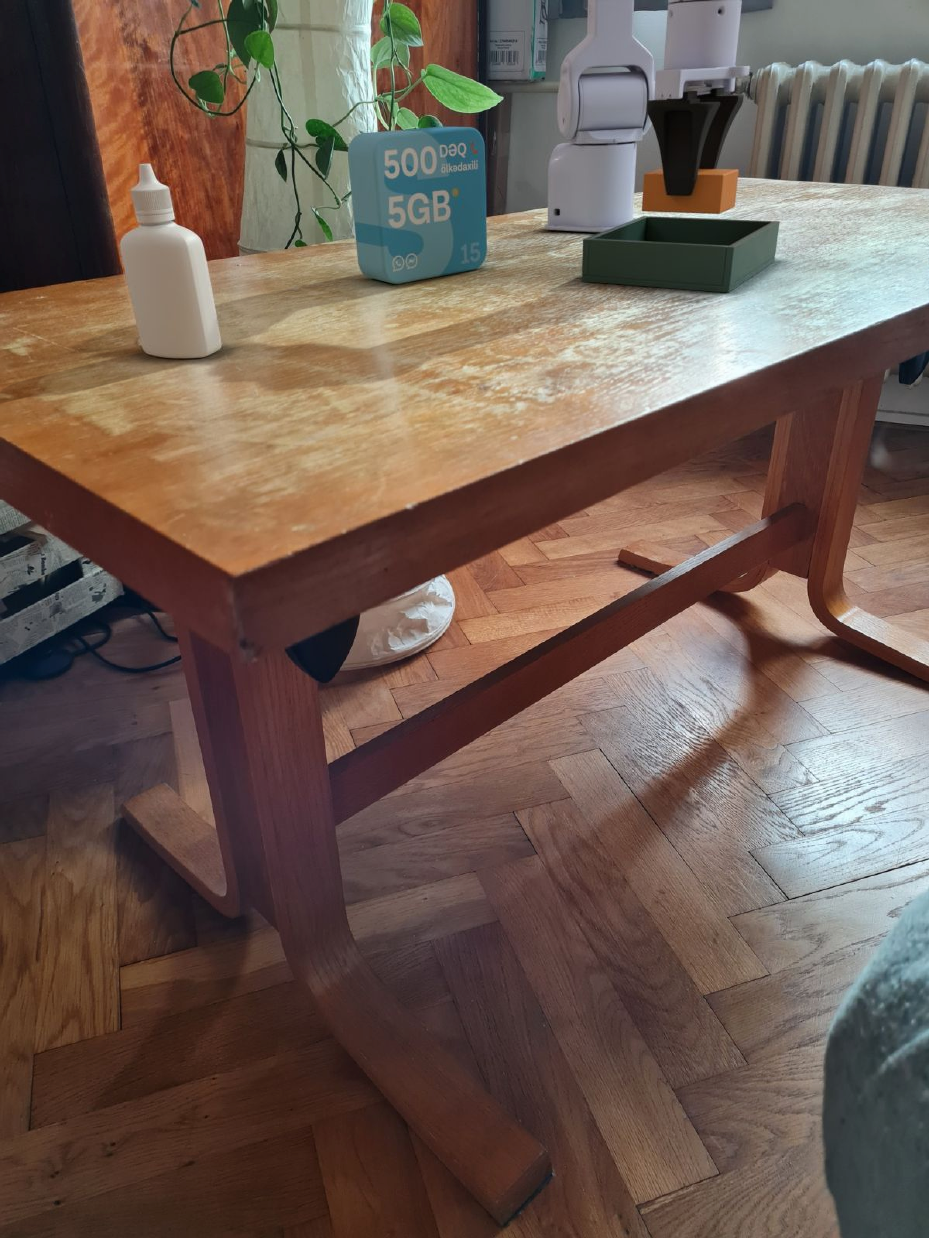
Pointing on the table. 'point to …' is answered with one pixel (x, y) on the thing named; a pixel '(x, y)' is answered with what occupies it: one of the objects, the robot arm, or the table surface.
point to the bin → (680, 253)
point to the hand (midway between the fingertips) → (688, 192)
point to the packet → (707, 197)
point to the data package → (418, 202)
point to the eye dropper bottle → (168, 277)
